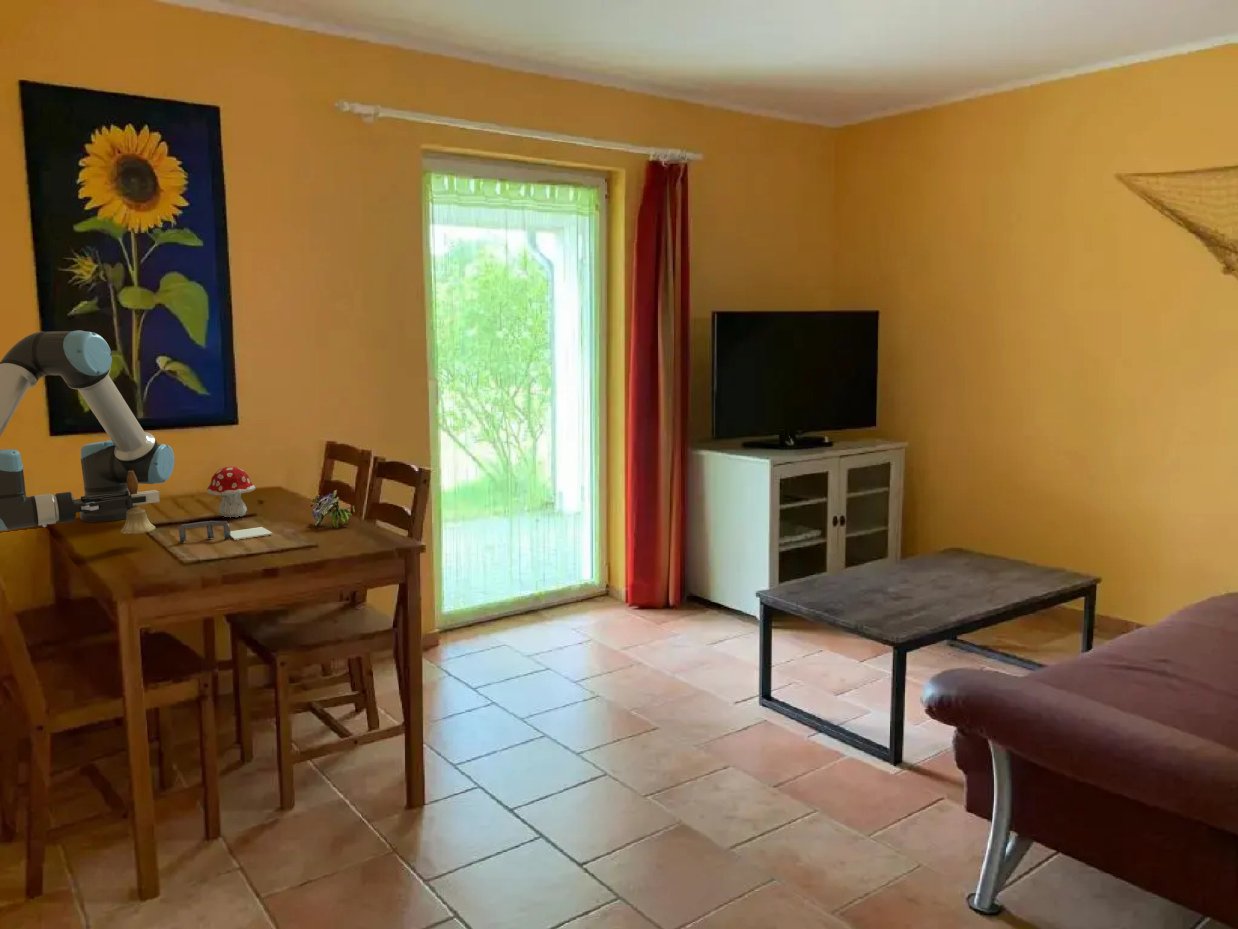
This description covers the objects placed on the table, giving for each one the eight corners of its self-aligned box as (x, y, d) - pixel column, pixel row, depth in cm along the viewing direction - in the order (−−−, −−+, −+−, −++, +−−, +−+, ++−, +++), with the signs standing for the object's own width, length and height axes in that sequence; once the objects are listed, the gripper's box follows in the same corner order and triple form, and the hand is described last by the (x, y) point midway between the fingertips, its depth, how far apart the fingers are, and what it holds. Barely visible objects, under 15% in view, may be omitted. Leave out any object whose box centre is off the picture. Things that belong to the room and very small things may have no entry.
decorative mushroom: (197, 519, 285) (193, 469, 283) (230, 510, 298) (226, 462, 296) (236, 522, 281) (232, 471, 278) (267, 512, 294) (264, 464, 292)
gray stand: (179, 542, 257) (177, 524, 256) (226, 535, 264) (225, 518, 263) (183, 546, 253) (182, 528, 252) (231, 539, 260) (230, 521, 259)
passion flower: (319, 544, 275) (302, 508, 278) (355, 531, 282) (338, 496, 284) (326, 528, 266) (308, 492, 269) (362, 516, 273) (344, 480, 275)
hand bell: (141, 534, 247) (134, 473, 245) (113, 533, 249) (106, 473, 246) (162, 527, 255) (156, 468, 253) (135, 526, 257) (128, 467, 254)
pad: (225, 534, 266) (224, 532, 265) (262, 528, 271) (261, 526, 271) (235, 540, 258) (234, 538, 257) (272, 535, 263) (272, 533, 263)
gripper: (53, 518, 247) (153, 505, 260) (61, 528, 235) (165, 514, 249) (50, 489, 245) (150, 478, 259) (58, 498, 234) (162, 486, 247)
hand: (157, 495), depth 254 cm, fingers closed on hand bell, 2 cm apart
